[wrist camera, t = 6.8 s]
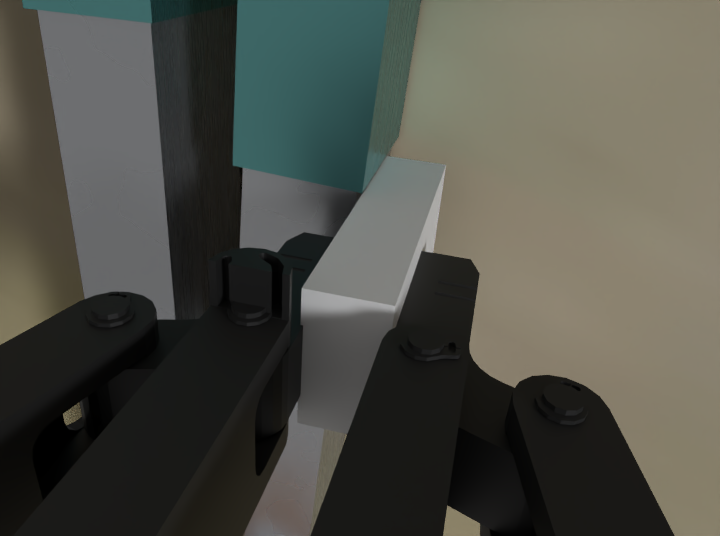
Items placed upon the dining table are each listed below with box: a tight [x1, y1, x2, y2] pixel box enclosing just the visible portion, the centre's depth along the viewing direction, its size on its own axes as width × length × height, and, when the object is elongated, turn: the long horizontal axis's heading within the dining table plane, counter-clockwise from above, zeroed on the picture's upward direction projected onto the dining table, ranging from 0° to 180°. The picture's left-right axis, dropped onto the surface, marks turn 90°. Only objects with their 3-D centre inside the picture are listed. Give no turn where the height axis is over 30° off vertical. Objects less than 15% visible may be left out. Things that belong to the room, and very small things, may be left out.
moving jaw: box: [233, 0, 421, 536], centre depth 18 cm, size 27×7×6 cm, turn 172°
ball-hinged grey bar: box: [22, 0, 241, 319], centre depth 19 cm, size 30×5×5 cm, turn 176°
